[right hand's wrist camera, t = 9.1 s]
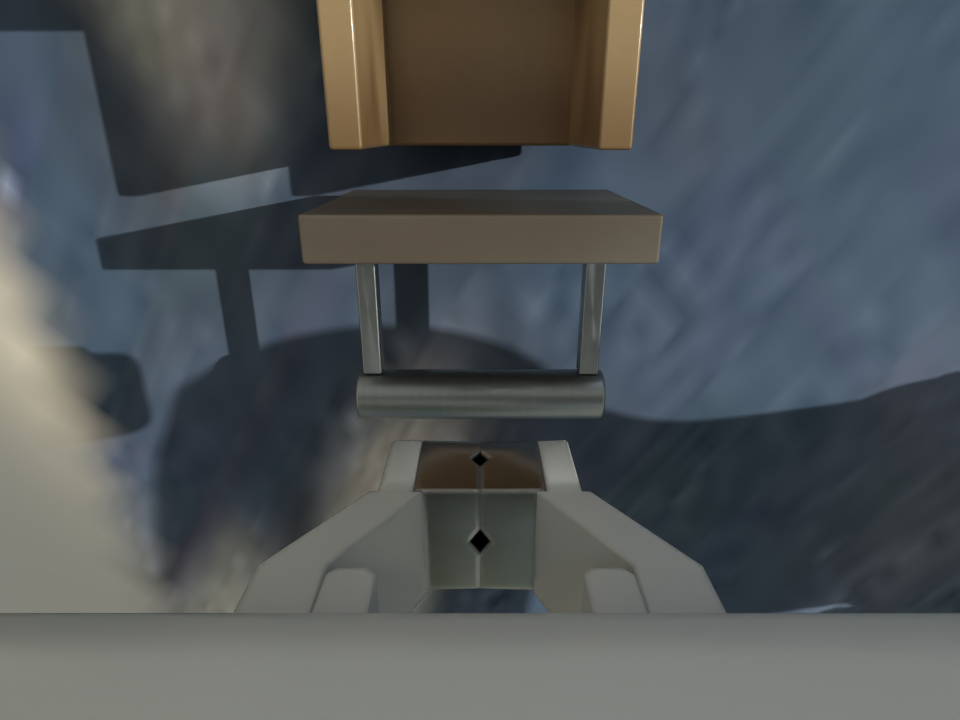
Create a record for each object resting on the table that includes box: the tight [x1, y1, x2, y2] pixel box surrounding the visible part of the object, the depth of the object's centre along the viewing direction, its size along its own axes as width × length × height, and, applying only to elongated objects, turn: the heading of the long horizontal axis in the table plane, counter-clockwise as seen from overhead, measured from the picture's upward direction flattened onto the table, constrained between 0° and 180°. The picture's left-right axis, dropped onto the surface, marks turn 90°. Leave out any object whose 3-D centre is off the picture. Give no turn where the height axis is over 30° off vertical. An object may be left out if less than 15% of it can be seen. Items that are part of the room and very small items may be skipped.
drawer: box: [298, 0, 663, 419], centre depth 16 cm, size 22×9×6 cm, turn 0°
